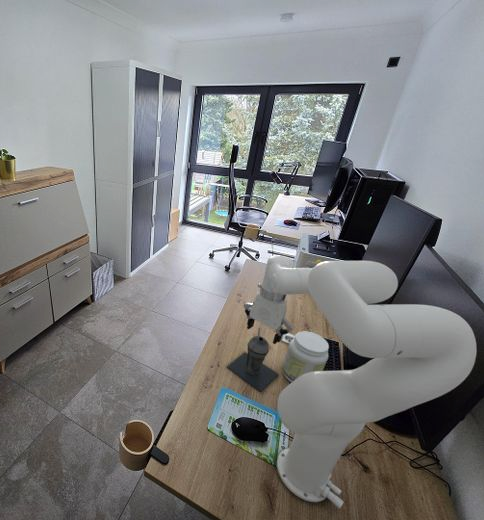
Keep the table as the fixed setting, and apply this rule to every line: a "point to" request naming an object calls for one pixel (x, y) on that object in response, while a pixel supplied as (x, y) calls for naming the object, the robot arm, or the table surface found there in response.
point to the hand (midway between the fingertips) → (262, 334)
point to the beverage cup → (256, 353)
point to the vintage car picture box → (288, 338)
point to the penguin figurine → (313, 263)
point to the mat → (257, 380)
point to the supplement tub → (305, 355)
